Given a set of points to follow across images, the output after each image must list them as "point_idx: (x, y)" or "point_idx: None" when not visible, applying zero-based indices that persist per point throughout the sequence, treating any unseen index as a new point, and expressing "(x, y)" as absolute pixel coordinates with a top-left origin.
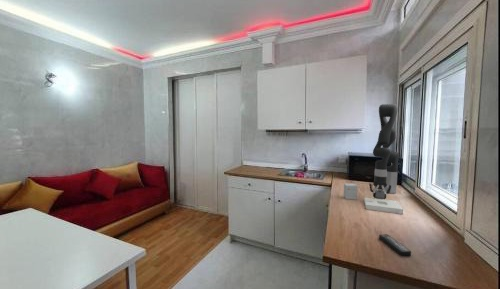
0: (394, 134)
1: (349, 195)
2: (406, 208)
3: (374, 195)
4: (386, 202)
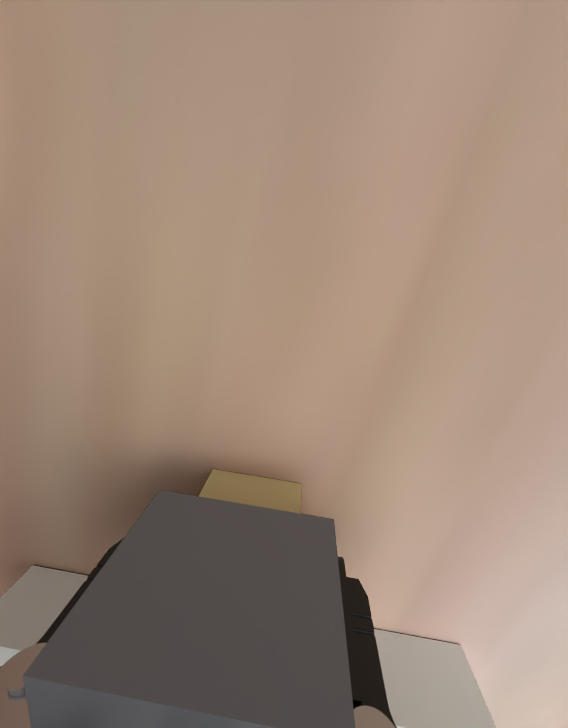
0: None
1: None
2: (531, 720)
3: None
4: None
